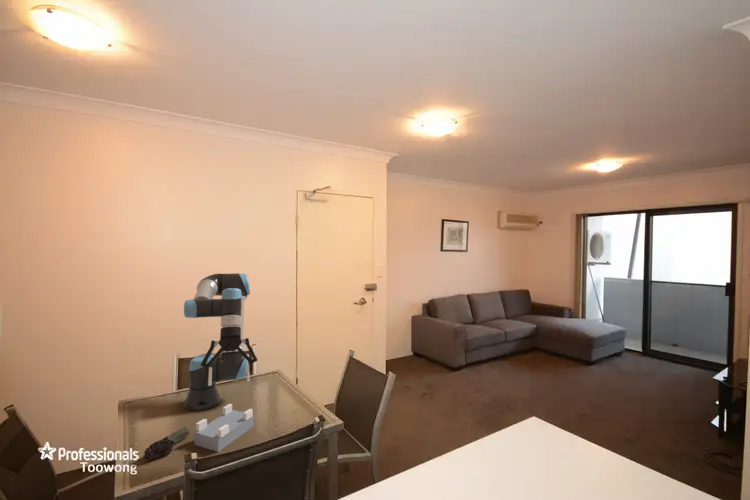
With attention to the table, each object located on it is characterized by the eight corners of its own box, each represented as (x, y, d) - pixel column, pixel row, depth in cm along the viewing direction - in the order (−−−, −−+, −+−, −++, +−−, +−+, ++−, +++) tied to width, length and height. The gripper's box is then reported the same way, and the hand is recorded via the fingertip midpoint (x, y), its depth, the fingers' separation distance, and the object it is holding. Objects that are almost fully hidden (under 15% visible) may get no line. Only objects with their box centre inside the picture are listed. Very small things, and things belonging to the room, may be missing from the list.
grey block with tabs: (193, 444, 138) (194, 424, 138) (230, 420, 157) (231, 402, 157) (218, 452, 134) (219, 431, 134) (253, 426, 153) (254, 408, 153)
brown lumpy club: (178, 436, 144) (179, 422, 144) (192, 439, 143) (193, 425, 143) (140, 462, 127) (140, 446, 127) (155, 465, 126) (156, 450, 125)
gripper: (194, 328, 134) (191, 387, 128) (263, 324, 141) (263, 380, 135) (198, 330, 141) (194, 386, 134) (263, 326, 148) (263, 379, 142)
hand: (229, 383), depth 135 cm, fingers open, 13 cm apart
